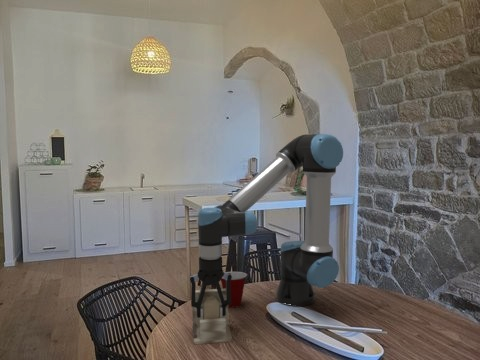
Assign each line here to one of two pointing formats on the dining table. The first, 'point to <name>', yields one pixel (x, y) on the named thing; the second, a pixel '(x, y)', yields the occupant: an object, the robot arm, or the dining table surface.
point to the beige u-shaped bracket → (211, 323)
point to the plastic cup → (235, 287)
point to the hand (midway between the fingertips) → (211, 325)
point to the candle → (211, 308)
